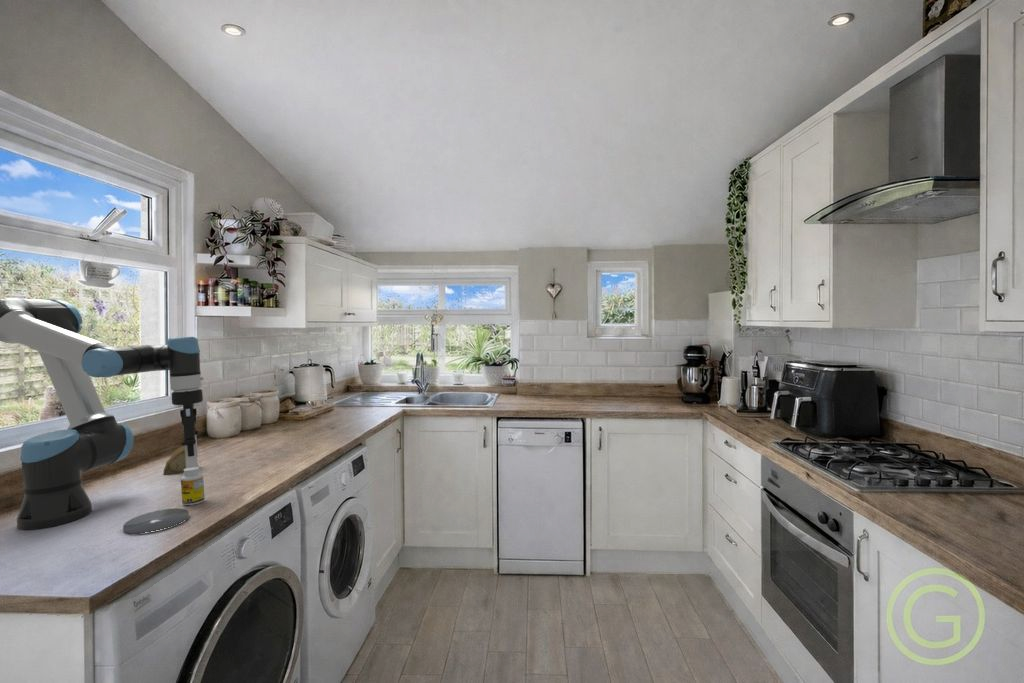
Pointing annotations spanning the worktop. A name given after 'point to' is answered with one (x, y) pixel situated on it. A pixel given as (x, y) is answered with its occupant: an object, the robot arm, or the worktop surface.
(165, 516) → the plate
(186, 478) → the supplement bottle
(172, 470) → the rock
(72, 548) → the worktop surface
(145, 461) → the worktop surface
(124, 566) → the worktop surface
